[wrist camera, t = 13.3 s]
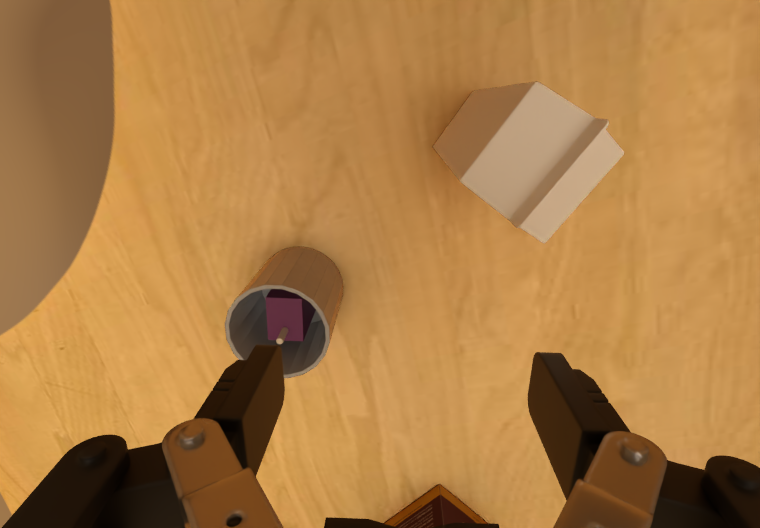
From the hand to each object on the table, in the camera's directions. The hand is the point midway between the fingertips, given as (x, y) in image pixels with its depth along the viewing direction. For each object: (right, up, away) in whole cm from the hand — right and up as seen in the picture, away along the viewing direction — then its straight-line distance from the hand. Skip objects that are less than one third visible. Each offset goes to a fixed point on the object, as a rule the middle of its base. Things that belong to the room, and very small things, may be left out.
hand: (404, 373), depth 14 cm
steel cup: (-9, +1, +32) cm, 33 cm away
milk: (+8, +15, +27) cm, 31 cm away
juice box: (-9, +1, +31) cm, 33 cm away
